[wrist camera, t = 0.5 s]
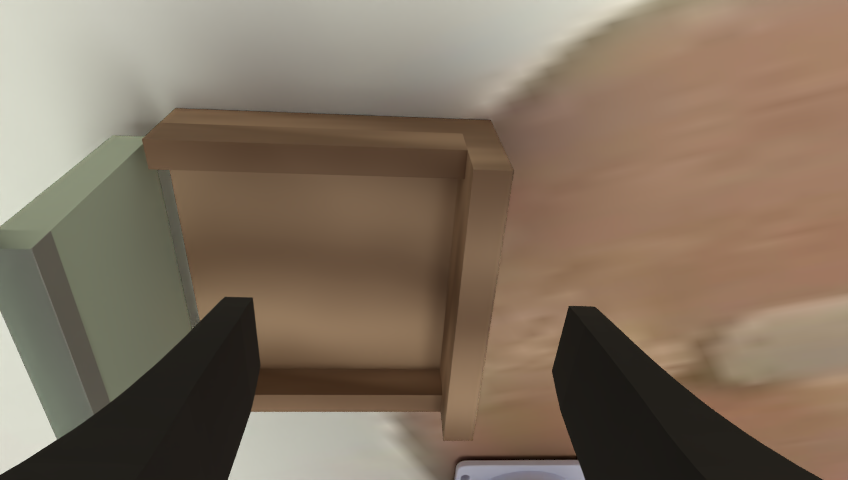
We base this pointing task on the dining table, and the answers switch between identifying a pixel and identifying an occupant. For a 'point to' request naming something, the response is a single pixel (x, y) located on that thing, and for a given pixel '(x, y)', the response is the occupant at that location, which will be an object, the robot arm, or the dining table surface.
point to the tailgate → (92, 282)
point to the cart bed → (347, 250)
